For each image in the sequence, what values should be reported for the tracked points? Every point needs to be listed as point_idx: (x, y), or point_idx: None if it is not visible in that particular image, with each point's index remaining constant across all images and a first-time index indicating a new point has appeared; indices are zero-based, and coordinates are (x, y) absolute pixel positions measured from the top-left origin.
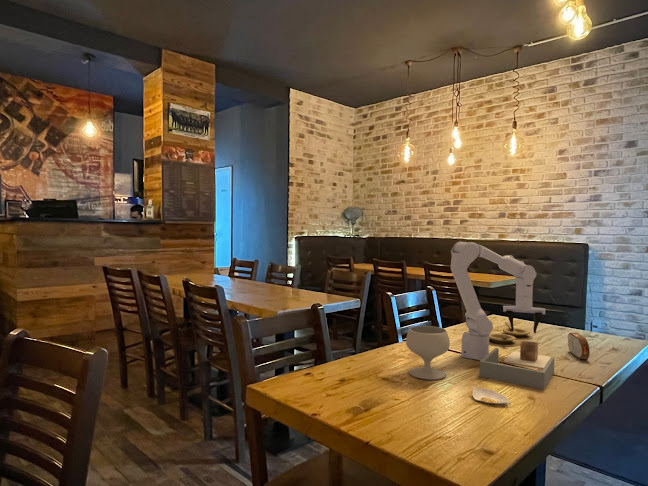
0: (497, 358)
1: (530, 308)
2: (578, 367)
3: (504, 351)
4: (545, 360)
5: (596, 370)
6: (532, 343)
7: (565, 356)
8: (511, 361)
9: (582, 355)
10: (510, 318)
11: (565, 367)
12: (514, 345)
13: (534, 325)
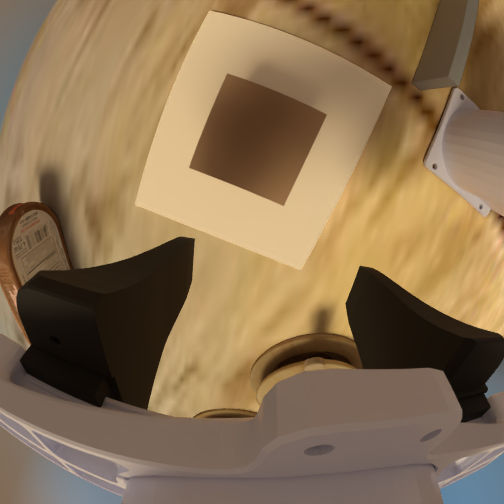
0: (427, 67)
1: (151, 481)
2: (75, 100)
3: (340, 268)
4: (179, 134)
5: (39, 93)
6: (234, 129)
7: (95, 249)
8: (359, 76)
9: (38, 202)
10: (446, 321)
11: (119, 74)
12: (270, 351)
13: (169, 269)
